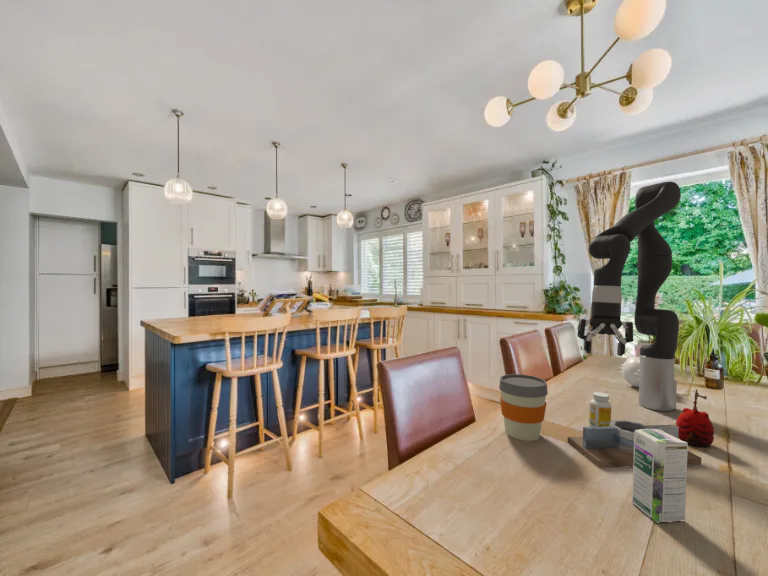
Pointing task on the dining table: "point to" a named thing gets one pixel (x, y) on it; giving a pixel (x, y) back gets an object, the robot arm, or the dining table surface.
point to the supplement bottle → (600, 410)
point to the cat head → (631, 370)
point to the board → (614, 455)
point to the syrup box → (659, 475)
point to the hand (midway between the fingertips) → (603, 354)
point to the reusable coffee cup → (523, 405)
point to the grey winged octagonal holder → (619, 435)
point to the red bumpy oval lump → (695, 426)
